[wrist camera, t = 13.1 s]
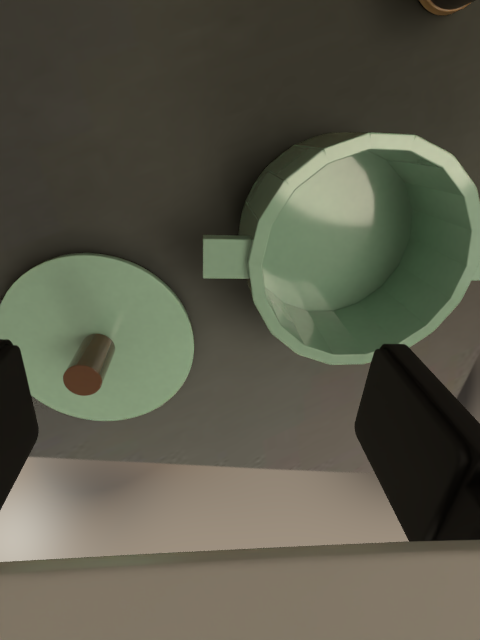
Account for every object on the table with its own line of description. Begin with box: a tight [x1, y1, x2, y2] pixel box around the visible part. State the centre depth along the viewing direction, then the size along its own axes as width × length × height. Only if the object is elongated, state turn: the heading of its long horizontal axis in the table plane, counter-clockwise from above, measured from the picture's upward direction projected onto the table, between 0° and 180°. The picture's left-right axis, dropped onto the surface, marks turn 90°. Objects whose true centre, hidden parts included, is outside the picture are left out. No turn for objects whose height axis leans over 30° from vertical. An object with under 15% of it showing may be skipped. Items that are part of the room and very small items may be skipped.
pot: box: [203, 132, 480, 365], centre depth 26 cm, size 14×19×8 cm
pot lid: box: [0, 253, 194, 421], centre depth 29 cm, size 15×15×6 cm
